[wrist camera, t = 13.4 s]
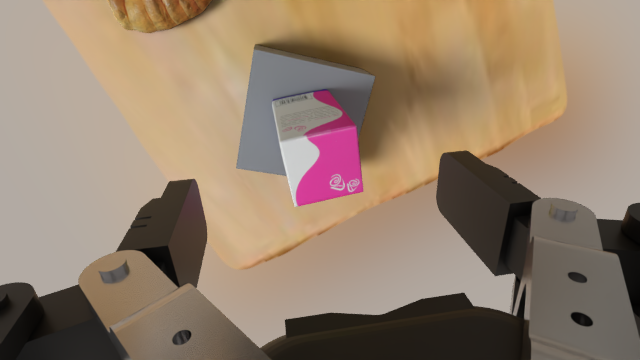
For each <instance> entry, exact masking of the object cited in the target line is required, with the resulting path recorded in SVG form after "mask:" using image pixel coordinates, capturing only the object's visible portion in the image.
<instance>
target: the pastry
mask: <svg viewBox="0 0 640 360" xmlns="http://www.w3.org/2000/svg"><path fill="white" fill-rule="evenodd" d="M107 1H108V3H109V5H110V6H111V8H112V12H113V14H114V16H115V18H116V19H117V21H118V22H119V23H120V24H121V25H122V27H123V28H125V29H127V30H137V31H140V32H144V33H152V32H155V31H159V30H164V29H171V28H173V27H175V26H177V25H179V24H181V23H182V22H184V21H186V20H189V19H191V18H194V17H195V16H197V15H199V14H200V13H202V12H203V11H204V10H205V9H206V7H207V6H208V5H209V4H210V2H211V1H212V0H107Z"/></svg>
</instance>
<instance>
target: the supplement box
mask: <svg viewBox="0 0 640 360" xmlns="http://www.w3.org/2000/svg"><path fill="white" fill-rule="evenodd" d="M272 107H273V113H274V118H275V123H276V128H277V134H278V139H279V144H280V149H281V154H282V158H283V162H284V166H285V171H286V175H287V179H288V182H289V186H290V190H291V194H292V198H293V202H294V206H295V207H297V206H302V205H306V204H311V203H315V202H319V201H324V200H328V199H333V198H337V197H342V196H346V195H351V194H355V193H360V192H363V183H362V174H361V163H360V152H359V142H358V132H357V126H356V125H355V123H354V122H353V121H352V120H351V119H350V117H349V116H348V115H347V113H346V112H345V111H344V110H343V108H342V107H341V106H340V105H339V103H338V102H337V101H336V100H335V98H334V97H333V96H332V94H331V93H330V92H329V91H328V90H327V89H323V90H317V91H312V92H306V93H301V94H296V95H291V96H287V97H282V98H277V99H272Z"/></svg>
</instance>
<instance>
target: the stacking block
mask: <svg viewBox="0 0 640 360" xmlns="http://www.w3.org/2000/svg"><path fill="white" fill-rule="evenodd" d="M374 80H375V76H374V75H372V74H370V73H368V72H367V71H365V70H363V69H361V68H356V67H352V66H347V65H343V64H339V63H334V62H330V61H325V60H321V59H317V58H312V57H308V56H303V55H299V54H294V53H290V52H286V51H281V50H277V49H272V48H268V47H263V46H259V45H255V47H254V52H253V58H252V65H251V72H250V79H249V85H248V92H247V99H246V105H245V112H244V119H243V126H242V132H241V139H240V146H239V152H238V159H237V166H236V168H238V169H244V170H251V171H257V172H264V173H271V174H277V175H284V176H287V175H286V171H285V166H284V162H283V158H282V154H281V149H280V144H279V139H278V134H277V128H276V123H275V118H274V113H273V107H272V99H277V98H282V97H287V96H291V95H296V94H301V93H306V92H312V91H317V90H323V89H327V90H328V91H329V92H330V93H331V94H332V96H333V97H334V98H335V100H336V101H337V102H338V103H339V105H340V106H341V107H342V108H343V110H344V111H345V112H346V113H347V115H348V116H349V117H350V119H351V120H352V121H353V122H354V123H355V125H356V126H357V132H358V138H359V134H360V130H361V127H362V123H363V120H364V116H365V112H366V109H367V105H368V101H369V98H370V94H371V91H372V87H373V83H374Z"/></svg>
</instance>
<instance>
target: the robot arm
mask: <svg viewBox="0 0 640 360" xmlns="http://www.w3.org/2000/svg"><path fill="white" fill-rule="evenodd" d="M436 199H437V205H438V208H439V210H440V212H441V213H442V215H443V216H444V217H445V218H446V219H447V221H448V222H449V223H450V224H451V225H452V226H453V228H454V229H455V230H456V231H457V232H458V233H459V234H460V236H461V237H462V238H463V239H464V240H465V241H466V243H467V244H468V245H469V246H470V247H471V249H472V250H473V251H474V252H475V253H476V254H477V256H478V257H479V258H480V259H481V260H482V261H483V262H484V264H485V265H486V266H487V267H488V268H489V269H490V271H491V272H492V273H493V274H494V275H495V276H498V275H505V274H512V273H514V274H515V280H514V284H513V289H512V298H511V306H510V314H509V313H505V312H502V311H499V310H494V309H490V308H484V307H477V306H473V305H472V303H471V302H470V301H469V299H468V298H467V297H466V295H465V293H459V294H452V295H446V296H439V297H433V298H425V299H421V300H418V301H416V302H413V303H411V304H408V305H406V306H403V307H400V308H398V309H396V310H393V311H390V312H388V313H386V314H382V315H362V314H344V313H326V314H319V315H313V316H306V317H300V318H293V319H286V320H285V325H286V326H285V327H286V335H284V336H281V337H279V338H277V339H275V340H273V341H271V342H269V343H267V344H266V345H264V346H263V347H261V348H259V347H258V346H256V344H255V343H253V342H252V341H251V340H250V339H249V338H248V337H247V336H246V335H245V334H244V333H243V332H242V331H241V330H240V329H239V328H238V327H236V326H235V325H234V324H233V323H232V322H231V321H230V320H229V319H228V318H227V317H226V316H225V315H224V314H223V313H222V312H221V311H219V310H218V309H217V308H216V307H215V306H214V305H213V304H212V303H211V302H210V301H209V300H208V299H207V298H206V297H205V296H204V295H203V294H201V293H200V292H199V291H198V290H197V289H196V288H197V283H198V279H199V274H200V269H201V265H202V260H203V256H204V251H205V247H206V242H207V226H206V220H205V216H204V211H203V207H202V202H201V198H200V193H199V189H198V185H197V182H196V180H195V179H188V180H179V181H170V182H169V183H168V185H167V187H166V189H165V191H164V193H163V195H162V197H161V198H156V199H152V200H151V201H150V202H148V203H147V204H146V205H145V206H143V207H142V208H141V209H140V211H139V212H138V214H137V216H136V218H135V220H134V221H133V223H132V225H131V229H129V230H128V232H127V233H126V235H125V237H124V239H123V241H122V242H121V244H120V246H119V247H118V249H117V251H116V252H114V253H112V254H109V255H106V256H104V257H102V258H99V259H98V260H96V261H94V262H93V263H91V264H90V265H89V266H88V267H86V268H85V269H84V270H83V272H82V273H81V275H80V276H79V279H78V283H79V284H78V285H75V286H73V287H70V288H67V289H64V290H61V291H58V292H54V293H51V294H48V295H45V296H42V297H39V298H38V296H37V294H36V292H35V290H34V288H33V287H32V286H31V285H30V284H27V283H10V284H5V285H1V286H0V360H640V203H635V204H632V205H630V206H629V207H628V209H627V212H626V214H625V217H624V219H623V220H606V219H596V216H595V215H594V213H593V212H592V211H591V210H590V209H588V208H587V207H585V206H583V205H581V204H578V203H576V202H573V201H569V200H565V199H558V198H543V199H541V198H540V197H538V196H537V195H535V194H534V193H533V192H531V191H530V190H528V189H527V188H525V187H524V186H523V185H521V184H520V183H517V181H515V180H514V179H513V178H511V177H509V176H508V175H507V174H505V173H504V172H502V171H501V170H499V169H498V168H496V167H493V166H490V165H488V164H485V163H484V162H482V161H481V160H480V159H478V158H477V157H476V156H474V155H473V154H471V153H470V152H469V151H457V152H447V153H443V154H442V156H441V159H440V165H439V175H438V186H437V195H436Z"/></svg>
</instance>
